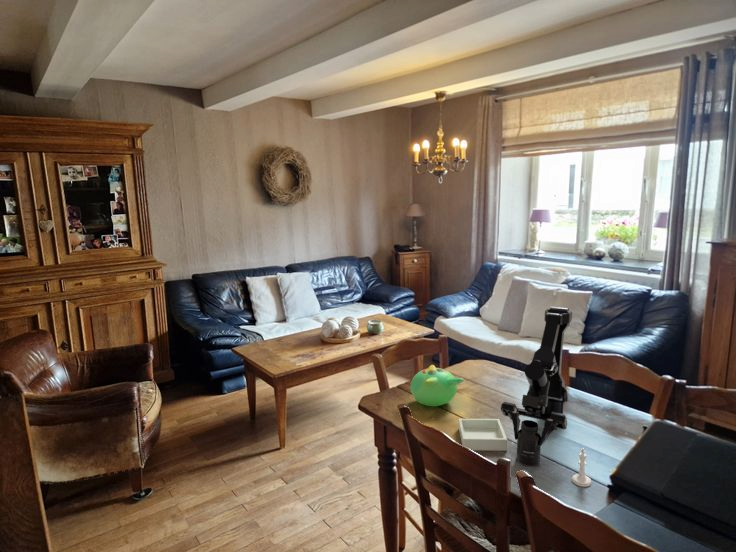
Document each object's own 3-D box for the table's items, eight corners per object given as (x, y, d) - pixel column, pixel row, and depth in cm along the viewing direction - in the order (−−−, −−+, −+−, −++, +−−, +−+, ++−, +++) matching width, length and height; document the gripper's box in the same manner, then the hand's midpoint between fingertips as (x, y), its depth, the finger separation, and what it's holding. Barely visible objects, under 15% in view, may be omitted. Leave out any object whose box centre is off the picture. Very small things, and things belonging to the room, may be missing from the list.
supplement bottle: (525, 468, 136) (525, 430, 134) (511, 456, 143) (512, 420, 141) (545, 464, 138) (546, 426, 136) (531, 452, 144) (532, 416, 142)
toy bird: (444, 391, 191) (444, 357, 188) (466, 408, 175) (466, 371, 173) (404, 399, 185) (403, 364, 182) (423, 417, 169) (423, 379, 167)
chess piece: (585, 475, 132) (587, 443, 130) (594, 486, 127) (596, 452, 125) (568, 476, 132) (570, 444, 130) (577, 487, 127) (578, 453, 125)
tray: (498, 429, 159) (499, 418, 159) (507, 450, 146) (507, 439, 145) (458, 428, 160) (458, 418, 160) (463, 450, 147) (463, 439, 146)
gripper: (502, 377, 145) (490, 425, 137) (566, 388, 134) (557, 441, 127) (509, 391, 152) (498, 437, 145) (570, 403, 142) (562, 454, 135)
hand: (527, 442), depth 138 cm, fingers closed on supplement bottle, 7 cm apart
